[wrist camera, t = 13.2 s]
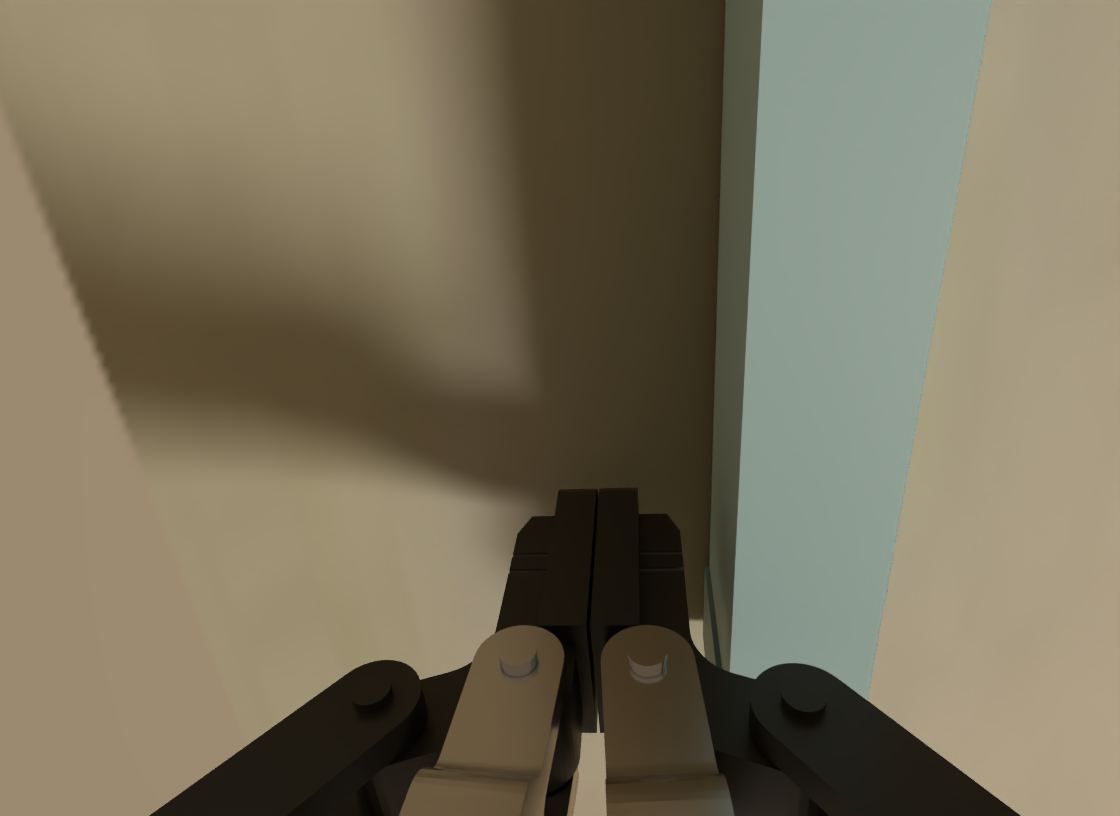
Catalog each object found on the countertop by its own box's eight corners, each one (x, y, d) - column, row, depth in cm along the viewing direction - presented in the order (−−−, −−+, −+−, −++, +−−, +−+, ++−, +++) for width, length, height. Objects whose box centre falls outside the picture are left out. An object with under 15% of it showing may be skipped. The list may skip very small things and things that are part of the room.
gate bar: (722, -112, 10) (762, -187, 6) (903, -131, 10) (1048, -221, 6) (703, 635, 16) (718, 795, 13) (811, 637, 16) (857, 803, 13)
